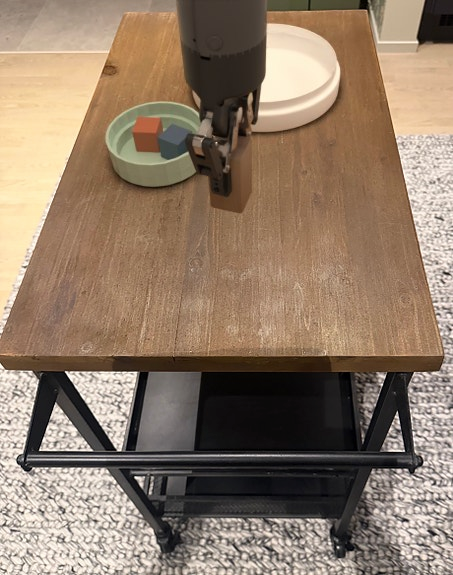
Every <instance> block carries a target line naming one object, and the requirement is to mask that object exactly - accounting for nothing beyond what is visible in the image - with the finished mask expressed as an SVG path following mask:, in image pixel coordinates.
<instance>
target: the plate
mask: <svg viewBox="0 0 453 575" xmlns="http://www.w3.org/2000/svg"><path fill="white" fill-rule="evenodd" d="M340 66H341V65H340V63H339V61H338V58H337V54H336V51H335V49H334V47H333V46H332V45H331V44H330V42H329V41H328V40H326V39H325V38H324V37H323V36H321V35H319V34H318V33H315V32H313V31H312V30H309V29H307V28H303V27H300V26H296V25H291V24H285V23H268V22H267V43H266V75H265V78H264V81H263V82H262V85H261V94H260V102H259V111H258V120H257V122H256V124H255V125H252V124H251V130H252V133H276V132H282V131H288V130H292V129H296V128H299V127H302V126H304V125H307V124H309V123H311V122H313V121H315V120H317V119H318V118H320V117H321V116H323V115H324V114H326V112H327V111H328V110H330V108H331V107H332V106H333V105H334V103H335V101H336V99H337V96H338V94H339V88H340V80H341V67H340ZM191 90H192V89H191ZM191 92H192V97H193V100H194V102H195V104H196V106H197V107H198V109H199V110H200V98H199V97H198V96H197V94H196V93H195V92H194V91H193V90H192V91H191Z"/></svg>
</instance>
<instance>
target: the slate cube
mask: <svg viewBox="0 0 453 575" xmlns="http://www.w3.org/2000/svg"><path fill="white" fill-rule="evenodd" d="M188 133H192V131H190V130H188V129H185V128H182V127H180V126H177V125H174V124H171V125H170V126H169V127H168V128H167V129H166V130H165V131H164V132H163V133H162V134H161V135H160V136H158V143H159V148H160V153H161V157H162V158H165V159H167V160H170V159H174V158H177V157H179V156H181V155H183V154H184V153H186V152H188V150H187V147H186V145H185V139H186V136H187V134H188Z"/></svg>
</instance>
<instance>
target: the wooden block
mask: <svg viewBox="0 0 453 575" xmlns="http://www.w3.org/2000/svg"><path fill="white" fill-rule="evenodd" d="M214 138H218V139H222V140H226V141H228V137H227V138H221V137H217V136H214ZM252 143H253V142H252V138H251V137H250V138H249V137H245V136H239V135H238V138H237V147H236V149H234V150H233V151H232V153H231V165H230V168H231V185H232V192H231V193H230V195H229V196H228V197H224V196H220V195H217V194H214V193H212V191H211V186H210V177H208V176H207V181H208V192H209V202H210V207H211V208H213V209H217V210H221V211H226V212H231V213H236V214H242V213H243V212H244V210H245V208H246V207H247V203H248V202H249V199H250V197H251V196H252V192H253V177H252V176H253V163H252V162H253V158H252V155H253V153H252V151H253V150H252V149H253V148H252V147H253V146H252V145H253V144H252ZM218 154H219V157H220V159H222V158H223V154H222V152H221V151H218Z"/></svg>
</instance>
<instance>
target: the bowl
mask: <svg viewBox="0 0 453 575" xmlns="http://www.w3.org/2000/svg"><path fill="white" fill-rule="evenodd" d="M137 117H154V118H161V121H162V126H163V132H164V131H165V130H166V129H167V128H168V127H169V126H170V125H171V124H174V125H177V126H180V127H182V128H185V129H188V130H190V131H192V134H196V133H197V131H198V129H199V127H200V125H201V122H200V120H199V111H197V110H195V109H194V108H193V107H191V106H188V105H186V104H184V103H179V102H176V101H175V102H174V101H164V100H163V101H162V100H160V101H158V100H157V101H151V102H149V101H148V102H145V103H141V104H138V105H135V106H133V107H130V108H128V109H126V110H124V111H123V112H121V113H119V115H117V116H116V117H115V118H114V119H113V120H112V122H111V123H109V125H108V127H107V129H106V132H105V146H106V148H107V152H108V156H109V158H110V162H111V165H112V168H113V170H114V172H116V174H117V175H118V176H119V177H120V178H121V179H123V180H125V181H127V182H129V183H131V184H134V185H138V186H141V187H152V188H153V187H154V188H156V187H165V186H170V185H174V184H177V183H180V182H183V181H184V180H187V179H188V178H190V177H192V176H193V175H195V173H196V170H195V168H194V165H193V163H192V160H191V158H190V155H189V152H186V153H184V154H183V155H181V156H179V157H177V158H174V159H170V160H167V159H165V158H162V157H161V153H156V152H137V151H136V147H135V143H134V139H133V134H132V130H133V128H134V125H135V123H136V120H137Z"/></svg>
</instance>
